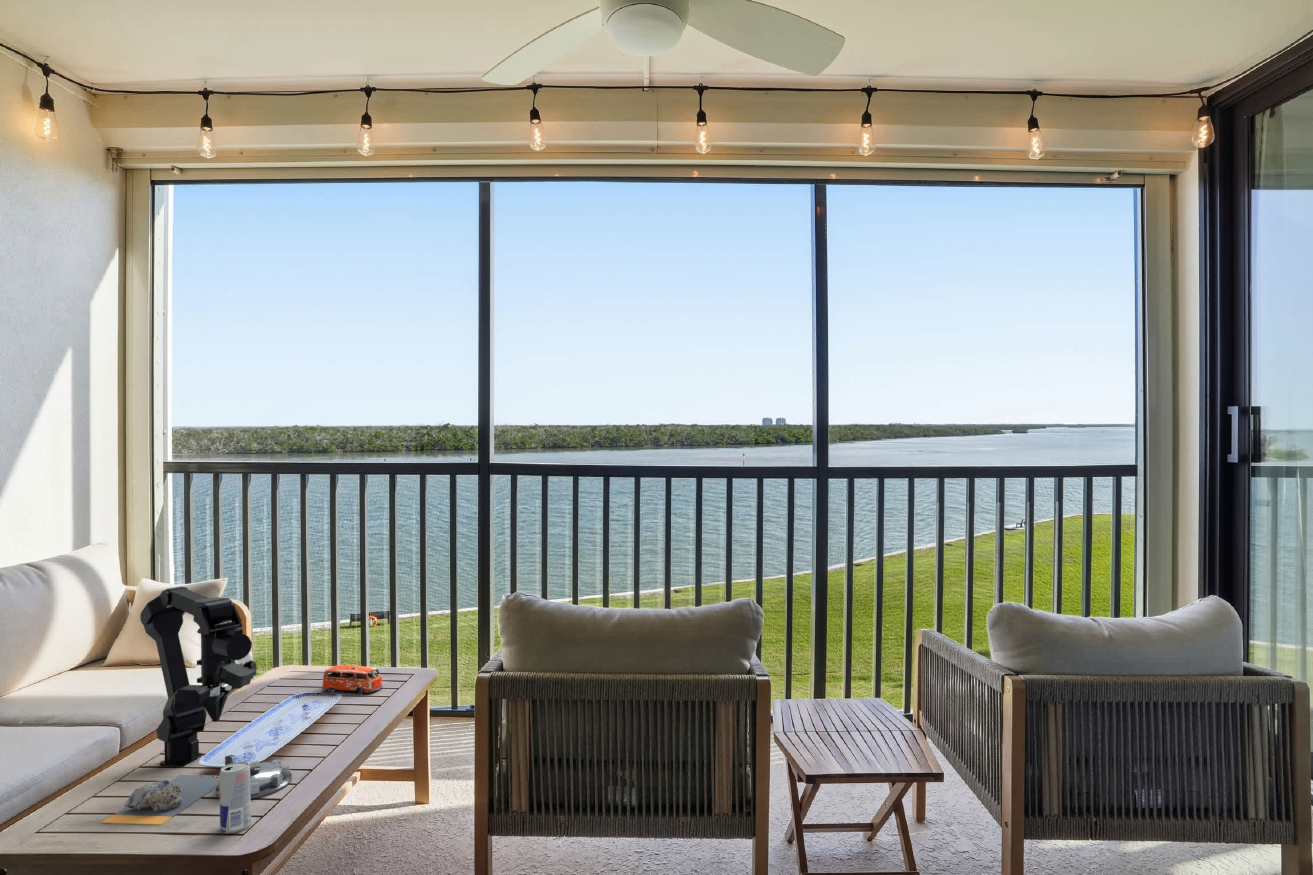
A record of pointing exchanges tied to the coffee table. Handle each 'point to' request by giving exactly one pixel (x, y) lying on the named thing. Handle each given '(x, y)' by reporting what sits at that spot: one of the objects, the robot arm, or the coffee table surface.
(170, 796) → the mineral specimen
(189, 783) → the slate mat
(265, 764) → the sprocket
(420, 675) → the coffee table surface
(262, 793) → the sprocket base
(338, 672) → the toy bus
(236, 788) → the energy drink
